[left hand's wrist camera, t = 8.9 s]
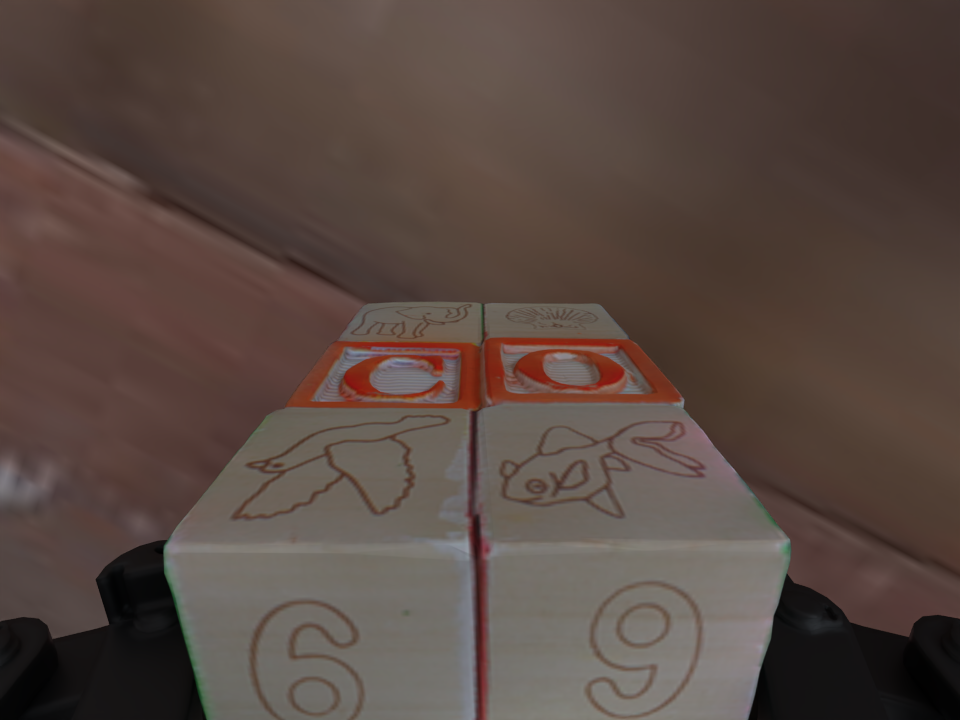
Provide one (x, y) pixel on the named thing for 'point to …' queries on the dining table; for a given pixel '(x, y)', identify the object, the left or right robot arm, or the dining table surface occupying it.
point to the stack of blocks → (478, 535)
